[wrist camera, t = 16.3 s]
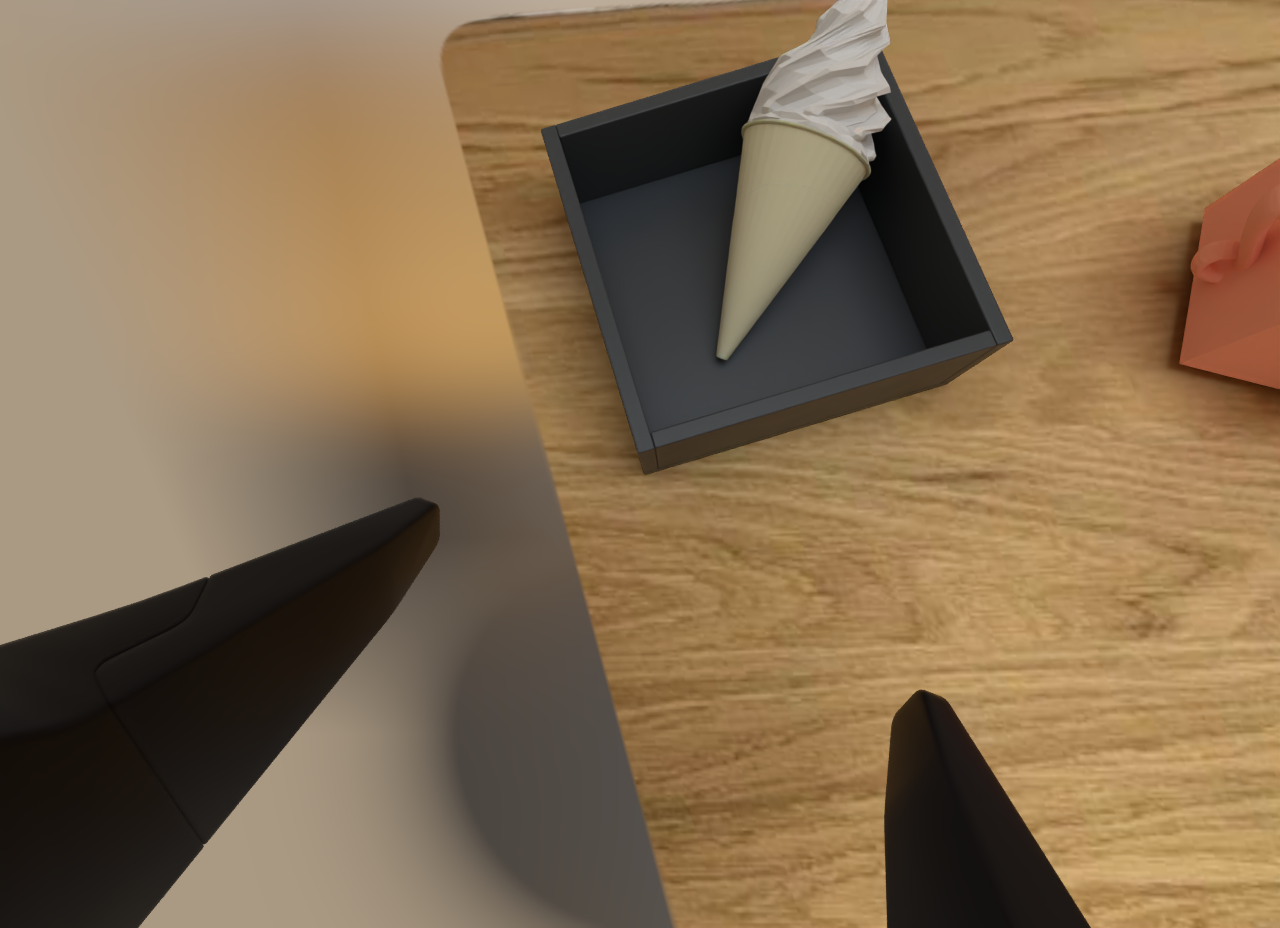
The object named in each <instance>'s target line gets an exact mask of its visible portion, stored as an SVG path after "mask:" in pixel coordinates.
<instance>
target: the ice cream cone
mask: <svg viewBox="0 0 1280 928" xmlns="http://www.w3.org/2000/svg"><path fill="white" fill-rule="evenodd" d="M886 14H887V0H838V1H837V2H836V3H835V4H834V5H833V6H832V7H831V8H830V9H829V10H827V11H826V12H825V13H824V14H823V15H822V16H821V17H820V18H819V19H818V20H817V24H816V31H815V32H814V34H813V35H812V37H811V38H810V39H809V41H808V42H806V43H804V44H802V45H800V46H798V47H796V48H794V49H792V50H790V51H788V52H786V53H784V54H782V55H780V57H779V58H778V60H777V62H776V63H775V65H774V67H773V68H772V70H771V71H770V73H769V75H768V76H767V78H766V80H765V81H764V83H763V84H762V88H761V90H760V93H759V95H758V98H757V100H756V102H755V105H754V107H753V110H752V112H751V115H750V118H749V120H748V122H747V123H746V124H744V126H743V127H742V131H741V134H742V138H743V147H742V155H741V163H740V171H739V179H738V187H737V195H736V203H735V211H734V217H733V223H732V232H731V240H730V248H729V256H728V264H727V272H726V280H725V288H724V296H723V304H722V313H721V321H720V329H719V337H718V345H717V353H716V356H717V357H719V358H721V359H724V360H728V359H729V357H730V356H731V355H732V353H733V352H734V351H735V349H736V348H737V347H738V345H739V344H740V343H741V341H742V340H743V339H744V337H745V336H746V335H747V333H748V332H749V331H750V329H751V328H752V327H753V325H754V324H755V323H756V321H757V320H758V319H759V317H760V316H761V315H762V313H763V312H764V311H765V309H766V308H767V307H768V305H769V304H770V303H771V301H772V300H773V299H774V297H775V296H776V295H777V293H778V292H779V291H780V289H781V288H782V287H783V285H784V284H785V283H786V281H787V280H788V279H789V277H790V276H791V275H792V273H793V272H794V271H795V269H796V268H797V267H798V265H799V264H800V263H801V261H802V260H803V259H804V257H805V256H806V255H807V253H808V252H809V251H810V249H811V248H812V247H813V245H814V244H815V243H816V241H817V240H818V239H819V237H820V236H821V235H822V233H823V232H824V231H825V229H826V228H827V227H828V225H829V224H830V223H831V221H832V220H833V219H834V217H835V215H836V214H837V213H838V211H839V210H840V209H841V207H842V206H843V205H844V203H845V202H846V201H847V199H848V198H849V197H850V195H851V194H852V193H853V191H854V190H855V189H856V188H857V186H858V185H859V184H860V182H861V181H863V180H865V179H866V178H868V177H869V175H870V173H871V168H870V165H869V162H870V161H873V160H874V159H875V157H876V154H875V150H874V142H873V139H872V135H871V133H875V132H880V131H882V130H883V129H884V127H885V126H886V124H887V123H888V122H889V121H890V120H891V118H890V117H889V116H888V114H887V113H886V111H885V110H884V109H883V107H882V106H881V104H880V102H879V100H878V98H877V96H880V95H883V94H887V93H890V92H891V91H890V86H889V84H888V83H887V81H886V79H885V78H884V76H883V75H882V73H881V70H880V66H879V61H878V57H877V55H878V54H879V53H880V52H881V51H882V50H883V49H884V48H885V47H887V46H888V45H889V44H890V43H891V42H890V38H889V34H888V29H887V25H886Z"/></svg>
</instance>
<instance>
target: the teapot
mask: <svg viewBox="0 0 1280 928" xmlns="http://www.w3.org/2000/svg"><path fill="white" fill-rule="evenodd" d="M1190 267H1191V271H1192V273H1193V275H1194V278H1193V284H1192V290H1191V296H1190V302H1189V308H1188V314H1187V320H1186V326H1185V332H1184V338H1183V344H1182V350H1181V356H1180V363H1179V364H1182V365H1186V366H1190V367H1194V368H1198V369H1202V370H1206V371H1210V372H1214V373H1217V374H1221V375H1225V376H1229V377H1233V378H1237V379H1241V380H1245V381H1249V382H1253V383H1257V384H1261V385H1265V386H1269V387H1273V388H1277V389H1280V159H1278V160H1277V161H1275V162H1274V163H1272V164H1271V165H1269V166H1268V167H1266V168H1265V169H1263V170H1262V171H1260V172H1259V173H1257V174H1256V175H1254V176H1253V177H1251V178H1250V179H1248V180H1247V181H1245V182H1244V183H1242V184H1241V185H1239V186H1238V187H1236V188H1235V189H1233V190H1232V191H1230V192H1229V193H1227V194H1226V195H1224V196H1223V197H1221V198H1220V199H1218V200H1217V201H1215V202H1214V203H1212V204H1211V205H1209V206H1208V207H1206V208H1205V211H1204V217H1203V223H1202V229H1201V235H1200V242H1199V248H1198V252H1197V253H1196V254H1195V256H1194V257H1193V259H1192V262H1191V266H1190Z"/></svg>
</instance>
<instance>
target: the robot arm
mask: <svg viewBox="0 0 1280 928" xmlns="http://www.w3.org/2000/svg"><path fill="white" fill-rule="evenodd" d="M439 537H440V510H439V507H438V505H437V504H435V503H433V502H430V501H428V500H425V499H423V498H414V499H411V500H408V501H405V502H403V503H400V504H398V505H395V506H392V507H390V508H387V509H384V510H382V511H379V512H377V513H374V514H371V515H369V516H366V517H364V518H361V519H358V520H355V521H353V522H350V523H348V524H345V525H342V526H340V527H337V528H334V529H332V530H329V531H326V532H324V533H321V534H318V535H316V536H313V537H311V538H308V539H305V540H303V541H300V542H297V543H295V544H292V545H289V546H287V547H285V548H282V549H279V550H276V551H274V552H271V553H268V554H266V555H263V556H260V557H258V558H255V559H253V560H250V561H247V562H245V563H242V564H240V565H237V566H234V567H231V568H229V569H226V570H223V571H221V572H218V573H216V574H213V575H211V576H210V578H207V577H205V578H202V579H199V580H197V581H194V582H191V583H189V584H186V585H184V586H181V587H178V588H175V589H173V590H170V591H167V592H164V593H161V594H159V595H156V596H153V597H151V598H147V599H145V600H142V601H139V602H136V603H133V604H130V605H127V606H124V607H121V608H118V609H115V610H111V611H108V612H105V613H102V614H99V615H96V616H93V617H90V618H87V619H83V620H80V621H77V622H73V623H70V624H67V625H64V626H60V627H57V628H55V629H51V630H47V631H44V632H41V633H38V634H34V635H31V636H28V637H25V638H22V639H18V640H15V641H12V642H9V643H5V644H2V645H0V928H138V927H139V926H140V925H141V924H142V922H143V921H144V920H145V918H147V916H148V915H149V914H150V913H151V911H152V910H153V909H154V908H155V906H156V905H157V904H158V903H159V902H160V900H161V899H162V898H163V897H164V895H165V894H166V893H167V892H168V890H169V889H170V888H171V886H172V885H173V884H174V883H175V882H176V881H177V879H178V878H179V877H180V876H181V874H182V873H183V872H184V871H185V870H186V868H187V867H188V866H189V864H190V863H191V862H192V861H193V860H194V858H195V857H196V856H197V855H198V853H199V852H200V851H201V850H202V848H203V847H204V846H203V844H206V843H207V842H208V840H209V839H210V838H211V837H212V835H213V834H214V833H215V832H216V831H217V829H218V828H219V827H220V826H221V824H222V823H223V822H224V821H225V820H226V818H227V817H228V816H229V815H230V813H231V812H232V811H233V810H234V809H235V807H236V806H237V805H238V804H239V802H240V801H241V800H242V799H243V797H244V796H245V795H246V794H247V792H248V791H249V790H250V789H251V788H252V786H253V785H254V784H255V783H256V782H257V780H258V779H259V778H260V777H261V775H262V774H263V773H264V772H265V770H266V769H267V768H268V767H269V766H270V764H271V763H272V762H273V760H274V759H275V758H276V757H277V756H278V754H279V753H280V752H281V751H282V749H283V748H284V747H285V746H286V745H287V743H288V742H289V741H290V740H291V738H292V737H293V736H294V735H295V733H296V732H297V731H298V730H299V729H300V727H301V726H302V724H304V722H305V721H306V720H307V719H308V717H309V716H310V715H311V714H312V713H313V711H314V710H315V709H316V708H317V706H318V705H319V704H320V703H321V701H322V700H323V699H324V698H325V697H326V695H327V694H328V693H329V692H330V690H331V689H332V688H333V687H334V685H335V684H336V683H337V682H338V681H339V679H340V678H341V677H342V675H343V674H344V673H345V672H346V671H347V669H348V668H349V667H350V666H351V664H352V663H353V662H354V661H355V660H356V658H357V657H358V656H359V655H360V653H361V652H362V651H363V650H364V648H365V647H366V646H367V645H368V643H369V642H370V641H371V640H372V639H373V637H374V636H375V635H376V634H377V632H378V631H379V630H380V629H381V628H382V626H383V625H384V624H385V623H386V621H387V620H388V619H389V617H390V615H392V613H393V612H394V610H395V609H396V607H397V606H398V605H399V603H400V602H401V600H402V598H403V597H404V596H405V594H406V592H407V591H408V589H409V588H410V586H411V585H412V583H413V582H414V580H415V578H416V577H417V575H418V574H419V572H420V571H421V569H422V568H423V566H424V565H425V563H426V561H427V560H428V558H429V557H430V555H431V554H432V552H433V551H434V549H435V547H436V546H437V543H438V540H439ZM884 833H885V868H886V902H887V928H1091V927H1090V926H1089V924H1088V923H1087V921H1086V919H1085V918H1084V916H1083V915H1082V913H1081V911H1080V910H1079V908H1078V907H1077V905H1076V904H1075V902H1074V900H1073V899H1072V897H1071V896H1070V894H1069V892H1068V891H1067V889H1066V888H1065V886H1064V884H1063V883H1062V881H1061V880H1060V878H1059V877H1058V875H1057V873H1056V872H1055V870H1054V869H1053V867H1052V865H1051V864H1050V862H1049V861H1048V859H1047V858H1046V856H1045V854H1044V853H1043V851H1042V850H1041V848H1040V846H1039V845H1038V843H1037V842H1036V840H1035V839H1034V837H1033V835H1032V834H1031V832H1030V831H1029V829H1028V827H1027V826H1026V824H1025V823H1024V821H1023V820H1022V818H1021V816H1020V815H1019V813H1018V812H1017V810H1016V808H1015V807H1014V805H1013V804H1012V802H1011V801H1010V799H1009V797H1008V796H1007V794H1006V793H1005V791H1004V789H1003V788H1002V786H1001V785H1000V783H999V782H998V780H997V778H996V777H995V775H994V774H993V772H992V770H991V769H990V767H989V766H988V764H987V763H986V761H985V759H984V758H983V756H982V755H981V753H980V751H979V750H978V748H977V747H976V745H975V743H974V742H973V740H972V739H971V737H970V736H969V734H968V732H967V731H966V729H965V728H964V726H963V724H962V723H961V721H960V720H959V718H958V717H957V715H956V713H955V712H954V710H953V709H952V707H951V705H950V704H949V703H948V701H947V700H946V699H944V698H943V697H941V696H938V695H936V694H933V693H931V692H928V691H925V690H918V691H916V692H915V693H914V694H913V695H912V696H911V697H910V698H909V700H908V701H907V702H906V703H905V704H904V705H903V706H902V707H901V708H900V709H899V710H898V711H897V713H896V714H895V716H894V718H893V721H892V726H891V737H890V749H889V761H888V773H887V785H886V797H885V814H884Z"/></svg>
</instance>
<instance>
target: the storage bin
mask: <svg viewBox="0 0 1280 928" xmlns="http://www.w3.org/2000/svg"><path fill="white" fill-rule="evenodd" d="M877 57H878V61H879V66H880V70H881V73H882V75H883V76H884V78H885V79H886V81H887V83H888V84H889V86H890V91H891V92H890V93H887V94H883V95H880V96H877V98H878V100H879V102H880V104H881V106H882V107H883V109H884V110H885V111H886V113H887V114H888V116H889V117H890V118H891V120H890V121H889V122H888V123H887V124H886V126H885V127H884V129H883V130H882V131H880V132H875V133H871V135H872V139H873V142H874V150H875V154H876V157H875V159H874V160H873V161H870V162H869V165H870V168H871V173H870V175H869V177H868V178H866V179H865V180H863V181H861V182H860V184H859V185H858V186H857V188H856V189H855V190H854V191H853V193H852V194H851V195H850V197H849V198H848V199H847V201H846V202H845V203H844V205H843V206H842V207H841V209H840V210H839V211H838V213H837V214H836V215H835V217H834V219H833V220H832V221H831V223H830V224H829V225H828V227H827V228H826V229H825V231H824V232H823V233H822V235H821V236H820V237H819V239H818V240H817V241H816V243H815V244H814V245H813V247H812V248H811V249H810V251H809V252H808V253H807V255H806V256H805V257H804V259H803V260H802V261H801V263H800V264H799V265H798V267H797V268H796V269H795V271H794V272H793V273H792V275H791V276H790V277H789V279H788V280H787V281H786V283H785V284H784V285H783V287H782V288H781V289H780V291H779V292H778V293H777V295H776V296H775V297H774V299H773V300H772V301H771V303H770V304H769V305H768V307H767V308H766V309H765V311H764V312H763V313H762V315H761V316H760V317H759V319H758V320H757V321H756V323H755V324H754V325H753V327H752V328H751V329H750V331H749V332H748V333H747V335H746V336H745V337H744V339H743V340H742V341H741V343H740V344H739V345H738V347H737V348H736V349H735V351H734V352H733V353H732V355H731V356H730V357H729V359H728V360H724V359H721V358H719V357H717V356H716V353H717V345H718V337H719V329H720V321H721V313H722V304H723V296H724V288H725V280H726V272H727V264H728V256H729V248H730V240H731V232H732V223H733V217H734V211H735V203H736V195H737V187H738V179H739V171H740V163H741V155H742V147H743V138H742V134H741V131H742V127H743V126H744V124H746V123H747V122H748V120H749V118H750V115H751V112H752V110H753V107H754V105H755V102H756V100H757V98H758V95H759V93H760V90H761V88H762V84H763V83H764V81H765V80H766V78H767V76H768V75H769V73H770V71H771V70H772V68H773V67H774V65H775V63H776V62H777V60H778V58H779V57H778V58H775V59H771V60H768V61H765V62H761V63H758V64H755V65H752V66H748V67H745V68H742V69H738V70H735V71H732V72H729V73H725V74H722V75H719V76H715V77H712V78H709V79H706V80H702V81H699V82H696V83H692V84H689V85H686V86H682V87H679V88H676V89H673V90H669V91H666V92H663V93H659V94H656V95H653V96H650V97H646V98H643V99H640V100H636V101H633V102H630V103H627V104H623V105H620V106H617V107H613V108H610V109H607V110H603V111H600V112H597V113H594V114H590V115H587V116H584V117H580V118H577V119H574V120H571V121H567V122H564V123H561V124H557V125H556V126H555V125H554V126H550V127H547V128H544V129H541V133H542V136H543V140H544V143H545V146H546V150H547V153H548V156H549V160H550V163H551V166H552V170H553V173H554V176H555V180H556V183H557V186H558V189H559V193H560V196H561V199H562V203H563V206H564V209H565V213H566V216H567V219H568V223H569V226H570V229H571V233H572V236H573V239H574V243H575V246H576V249H577V253H578V256H579V259H580V263H581V266H582V269H583V273H584V276H585V279H586V283H587V286H588V289H589V293H590V296H591V299H592V303H593V306H594V309H595V313H596V316H597V319H598V322H599V326H600V329H601V332H602V336H603V339H604V342H605V346H606V349H607V352H608V356H609V359H610V362H611V366H612V369H613V372H614V376H615V379H616V382H617V386H618V389H619V392H620V396H621V399H622V402H623V406H624V409H625V412H626V416H627V419H628V422H629V426H630V429H631V432H632V436H633V439H634V442H635V446H636V449H637V452H638V455H639V459H640V462H641V465H642V468H643V471H644V474H645V475H646V474H650V473H653V472H656V471H660V470H663V469H666V468H670V467H673V466H676V465H680V464H683V463H686V462H690V461H693V460H696V459H700V458H703V457H706V456H710V455H713V454H716V453H720V452H723V451H726V450H729V449H733V448H736V447H739V446H743V445H746V444H749V443H753V442H756V441H759V440H763V439H766V438H769V437H773V436H776V435H779V434H783V433H786V432H789V431H793V430H796V429H799V428H803V427H806V426H809V425H813V424H816V423H819V422H822V421H826V420H829V419H832V418H836V417H839V416H842V415H846V414H849V413H852V412H856V411H859V410H862V409H866V408H869V407H872V406H876V405H879V404H882V403H886V402H889V401H892V400H896V399H899V398H902V397H906V396H909V395H912V394H915V393H919V392H922V391H925V390H929V389H932V388H935V387H939V386H942V385H945V384H948V383H949V382H951V381H952V380H954V379H955V378H957V377H958V376H960V375H961V374H963V373H964V372H966V371H967V370H969V369H970V368H972V367H974V366H975V365H977V364H978V363H980V362H981V361H983V360H984V359H986V358H987V357H989V356H990V355H992V354H993V353H995V352H996V351H998V350H999V349H1001V348H1002V347H1004V346H1006V345H1007V344H1009V343H1010V342H1012V341H1013V337H1012V335H1011V333H1010V331H1009V329H1008V326H1007V324H1006V322H1005V320H1004V318H1003V315H1002V313H1001V311H1000V309H999V307H998V304H997V302H996V300H995V298H994V296H993V293H992V291H991V289H990V287H989V285H988V282H987V280H986V278H985V276H984V274H983V272H982V269H981V267H980V265H979V263H978V261H977V258H976V256H975V254H974V252H973V250H972V247H971V245H970V243H969V241H968V239H967V236H966V234H965V232H964V230H963V228H962V225H961V223H960V221H959V219H958V217H957V214H956V212H955V210H954V208H953V206H952V203H951V201H950V199H949V197H948V195H947V192H946V190H945V188H944V186H943V184H942V181H941V179H940V177H939V175H938V173H937V170H936V168H935V166H934V164H933V162H932V160H931V157H930V155H929V153H928V151H927V149H926V146H925V144H924V142H923V140H922V138H921V135H920V133H919V131H918V129H917V127H916V124H915V122H914V120H913V118H912V116H911V113H910V111H909V109H908V107H907V105H906V102H905V100H904V98H903V96H902V94H901V91H900V89H899V87H898V85H897V83H896V80H895V78H894V76H893V74H892V72H891V69H890V67H889V65H888V63H887V61H886V58H885V56H884V54H883V52H882V51H881V52H880V53H879V54H878V55H877Z"/></svg>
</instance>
